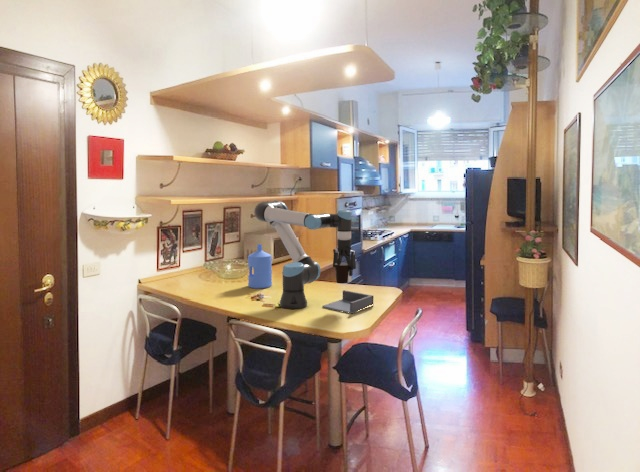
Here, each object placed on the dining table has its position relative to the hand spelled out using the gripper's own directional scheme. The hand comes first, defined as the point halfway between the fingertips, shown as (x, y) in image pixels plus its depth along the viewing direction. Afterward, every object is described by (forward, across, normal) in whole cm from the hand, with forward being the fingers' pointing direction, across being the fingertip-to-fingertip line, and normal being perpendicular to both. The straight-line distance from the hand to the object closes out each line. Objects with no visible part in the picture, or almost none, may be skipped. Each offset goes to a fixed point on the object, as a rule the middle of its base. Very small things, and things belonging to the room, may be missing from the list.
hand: (344, 280), depth 233 cm
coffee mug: (+1, 0, 0) cm, 1 cm away
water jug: (+15, +73, -5) cm, 75 cm away
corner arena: (+14, -3, -1) cm, 15 cm away
